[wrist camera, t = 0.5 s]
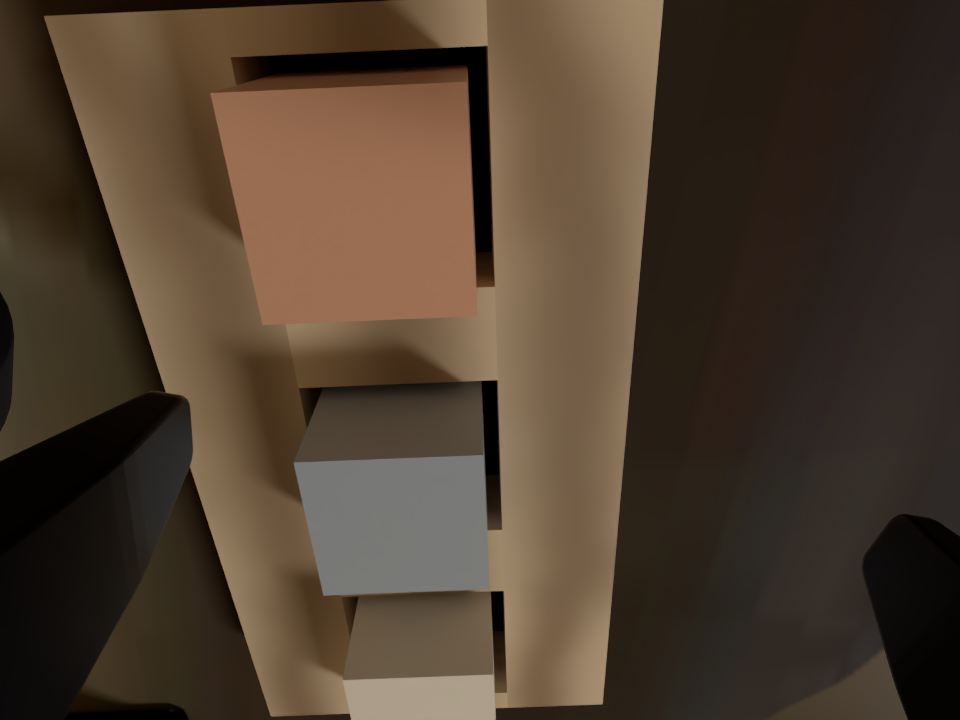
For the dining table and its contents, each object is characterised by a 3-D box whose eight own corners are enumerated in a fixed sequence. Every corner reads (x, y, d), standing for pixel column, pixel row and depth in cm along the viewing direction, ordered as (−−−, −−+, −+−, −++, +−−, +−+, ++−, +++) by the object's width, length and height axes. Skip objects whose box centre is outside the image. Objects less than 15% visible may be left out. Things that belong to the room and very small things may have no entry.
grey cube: (351, 486, 23) (323, 595, 19) (330, 369, 21) (293, 462, 17) (486, 481, 23) (489, 589, 19) (480, 363, 21) (483, 454, 17)
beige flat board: (288, 653, 29) (271, 716, 27) (110, 16, 17) (43, 15, 14) (590, 642, 29) (602, 704, 27) (633, -8, 17) (664, -12, 14)
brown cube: (310, 254, 19) (262, 325, 15) (278, 73, 17) (210, 93, 12) (475, 247, 19) (476, 316, 15) (467, 64, 17) (466, 81, 12)
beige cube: (379, 647, 28) (362, 766, 23) (364, 565, 25) (342, 680, 21) (493, 643, 28) (497, 761, 23) (489, 560, 25) (493, 674, 21)
